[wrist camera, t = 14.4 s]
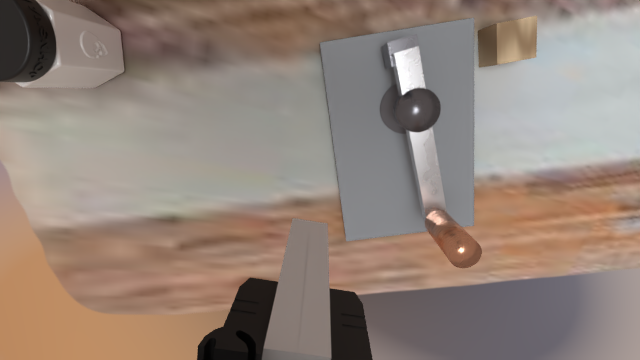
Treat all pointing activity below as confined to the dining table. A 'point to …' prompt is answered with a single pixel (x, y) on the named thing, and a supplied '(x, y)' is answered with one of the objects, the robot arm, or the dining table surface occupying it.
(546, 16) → the dining table surface
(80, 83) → the jar
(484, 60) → the block
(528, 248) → the dining table surface
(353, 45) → the base
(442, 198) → the lever
